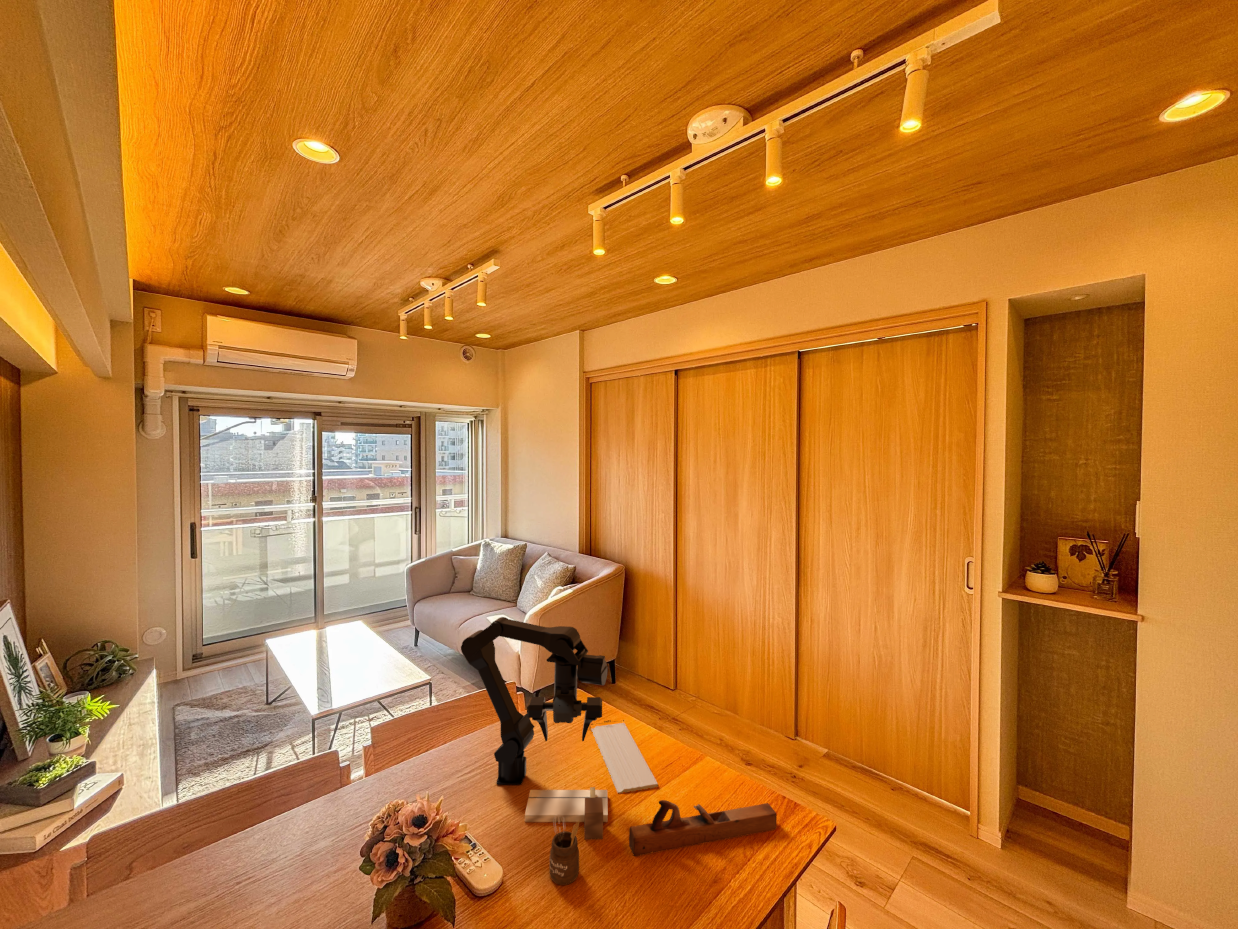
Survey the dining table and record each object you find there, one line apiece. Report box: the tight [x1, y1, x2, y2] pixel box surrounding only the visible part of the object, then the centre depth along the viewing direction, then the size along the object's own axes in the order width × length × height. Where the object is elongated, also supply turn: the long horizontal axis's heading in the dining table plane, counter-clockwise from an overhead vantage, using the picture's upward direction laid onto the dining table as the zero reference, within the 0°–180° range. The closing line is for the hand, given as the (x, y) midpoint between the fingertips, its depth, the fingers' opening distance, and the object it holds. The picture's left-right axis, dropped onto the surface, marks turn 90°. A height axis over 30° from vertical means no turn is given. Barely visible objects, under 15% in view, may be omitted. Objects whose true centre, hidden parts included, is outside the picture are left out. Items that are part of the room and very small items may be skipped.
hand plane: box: [628, 799, 778, 857], centre depth 116 cm, size 34×5×10 cm, turn 108°
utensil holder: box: [549, 814, 580, 886], centre depth 105 cm, size 6×6×12 cm
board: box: [524, 789, 609, 823], centre depth 124 cm, size 19×9×2 cm, turn 92°
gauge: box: [583, 786, 604, 841], centre depth 121 cm, size 4×13×6 cm, turn 4°
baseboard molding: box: [588, 719, 659, 794], centre depth 146 cm, size 31×3×12 cm
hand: (564, 740), depth 132 cm, fingers open, 9 cm apart
